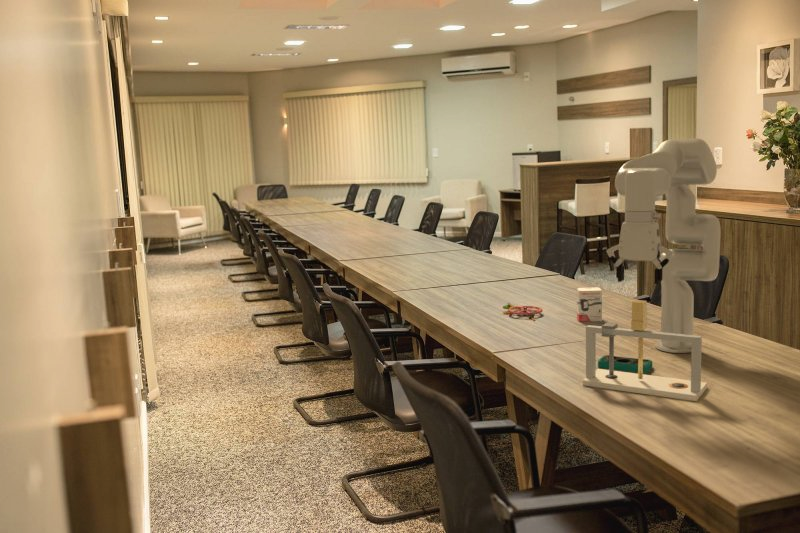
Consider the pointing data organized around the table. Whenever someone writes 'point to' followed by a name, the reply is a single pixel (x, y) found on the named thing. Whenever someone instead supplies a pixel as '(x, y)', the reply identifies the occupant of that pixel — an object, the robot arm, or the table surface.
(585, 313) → the ink box
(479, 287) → the table surface
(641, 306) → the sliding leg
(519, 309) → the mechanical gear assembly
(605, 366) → the digital multimeter
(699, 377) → the white rack frame
